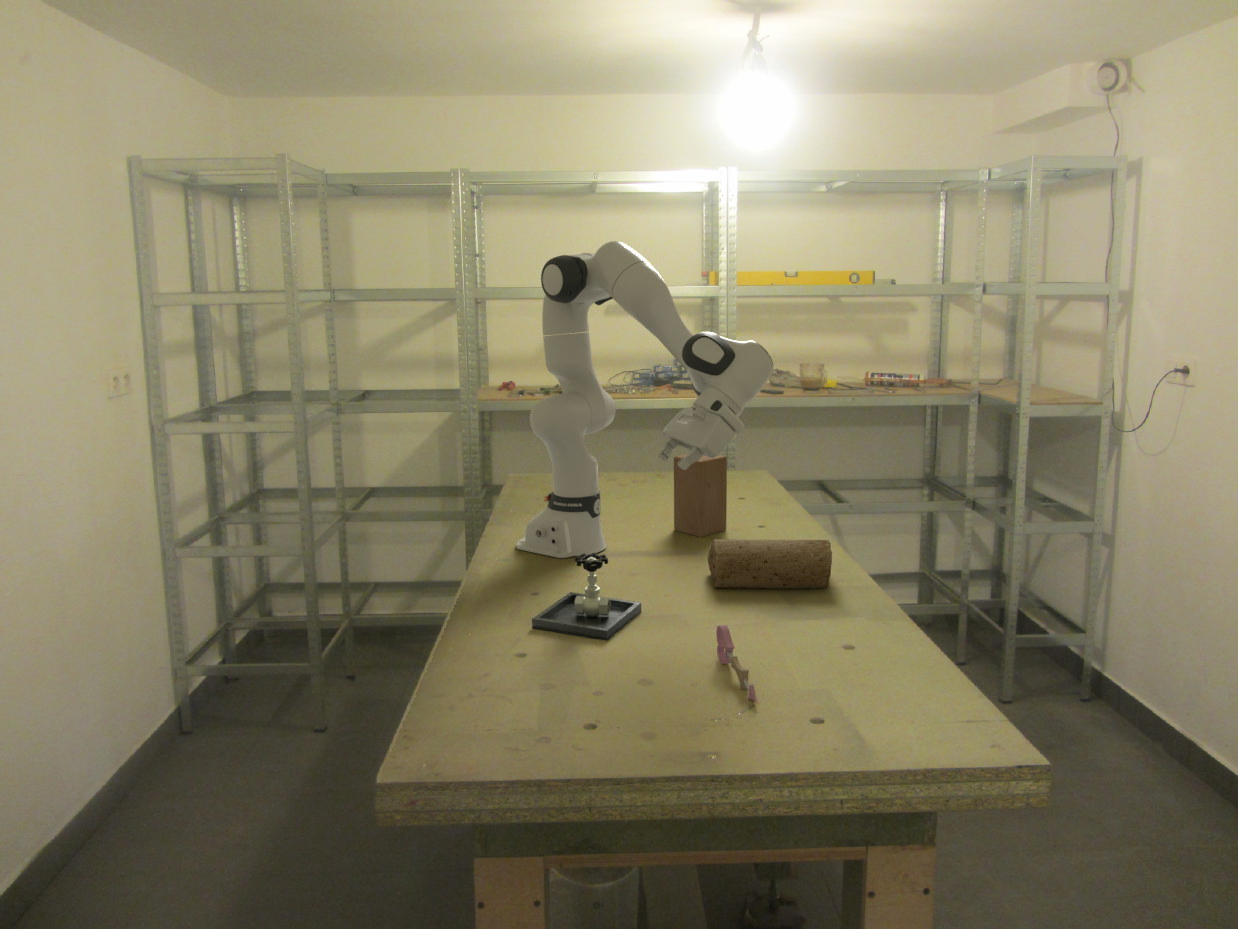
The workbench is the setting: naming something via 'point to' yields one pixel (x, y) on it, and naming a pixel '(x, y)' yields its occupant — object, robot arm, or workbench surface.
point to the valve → (592, 588)
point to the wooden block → (700, 496)
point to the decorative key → (732, 659)
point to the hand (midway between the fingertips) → (670, 463)
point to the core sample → (770, 563)
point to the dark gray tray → (586, 618)
